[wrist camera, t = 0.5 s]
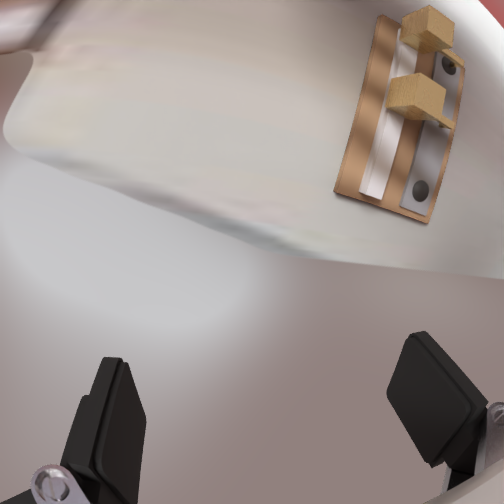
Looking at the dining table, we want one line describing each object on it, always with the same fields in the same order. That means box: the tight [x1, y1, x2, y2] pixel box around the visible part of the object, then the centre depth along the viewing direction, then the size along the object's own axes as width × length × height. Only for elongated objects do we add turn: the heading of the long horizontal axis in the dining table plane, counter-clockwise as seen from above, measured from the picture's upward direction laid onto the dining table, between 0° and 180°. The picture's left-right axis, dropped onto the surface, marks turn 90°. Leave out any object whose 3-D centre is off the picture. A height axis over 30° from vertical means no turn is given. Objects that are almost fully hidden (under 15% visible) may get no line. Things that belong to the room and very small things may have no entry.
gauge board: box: [334, 14, 465, 224], centre depth 33 cm, size 26×16×3 cm, turn 165°
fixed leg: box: [399, 5, 464, 68], centre depth 25 cm, size 4×10×7 cm, turn 75°
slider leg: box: [385, 73, 455, 130], centre depth 29 cm, size 4×10×7 cm, turn 75°
